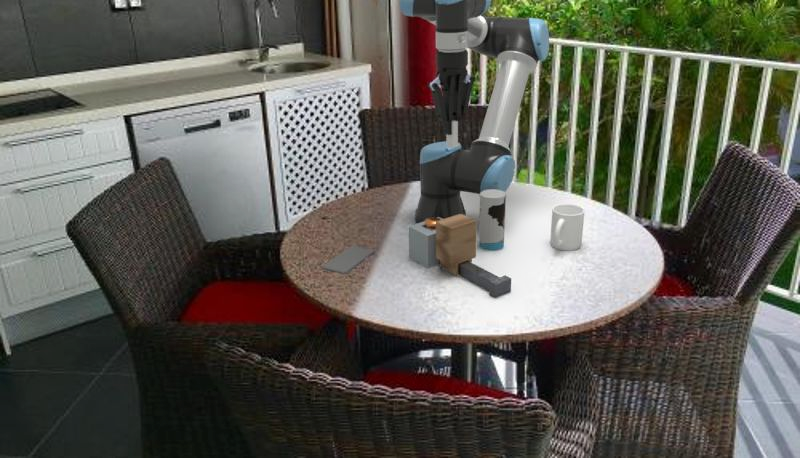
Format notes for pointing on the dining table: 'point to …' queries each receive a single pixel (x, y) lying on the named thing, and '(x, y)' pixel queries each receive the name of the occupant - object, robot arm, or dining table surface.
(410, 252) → the grey block with hole
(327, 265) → the smartphone
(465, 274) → the rail
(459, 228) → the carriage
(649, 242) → the dining table surface
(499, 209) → the white printed can
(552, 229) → the mug
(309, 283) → the dining table surface
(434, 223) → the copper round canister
